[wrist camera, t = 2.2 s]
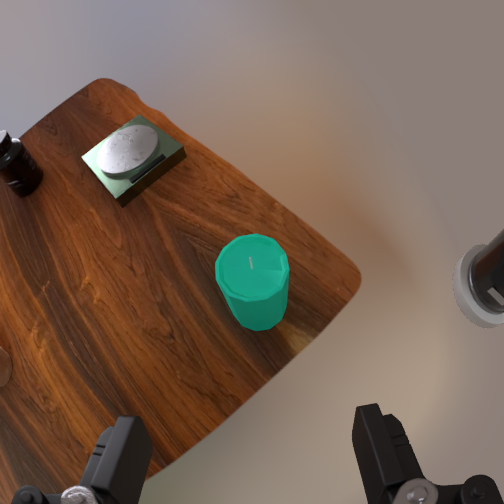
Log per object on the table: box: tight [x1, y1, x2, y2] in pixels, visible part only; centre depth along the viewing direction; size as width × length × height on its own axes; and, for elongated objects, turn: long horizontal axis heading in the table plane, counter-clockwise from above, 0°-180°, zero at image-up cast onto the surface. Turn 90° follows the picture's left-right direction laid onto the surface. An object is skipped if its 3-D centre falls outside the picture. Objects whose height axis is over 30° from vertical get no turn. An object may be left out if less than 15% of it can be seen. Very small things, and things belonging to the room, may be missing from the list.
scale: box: [82, 114, 187, 208], centre depth 45 cm, size 13×12×3 cm
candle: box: [215, 234, 289, 331], centre depth 30 cm, size 6×6×12 cm
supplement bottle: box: [0, 130, 43, 197], centre depth 42 cm, size 7×7×12 cm
